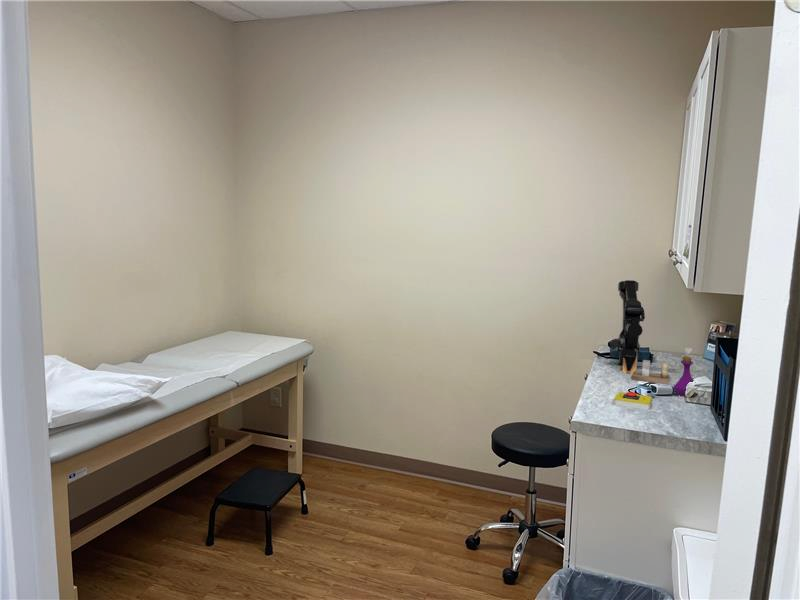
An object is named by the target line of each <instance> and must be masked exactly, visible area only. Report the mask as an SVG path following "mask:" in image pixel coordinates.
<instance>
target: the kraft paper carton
mask: <svg viewBox="0 0 800 600" xmlns="http://www.w3.org/2000/svg"><path fill="white" fill-rule="evenodd" d="M637 366H638V356H637V357H636V359H635V361H634V364H633V366H632V368H631V370H630V371H627V366H626V361H625V358H624V357H623V365H622V373H623V374H624V373H625V374H630V373H631V375H632V374H633V372H634V371H637V369H638V368H637Z"/></svg>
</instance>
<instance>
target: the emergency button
mask: <svg viewBox="0 0 800 600" xmlns="http://www.w3.org/2000/svg"><path fill="white" fill-rule="evenodd" d="M610 404H611V405H610ZM654 404H655V405H656V404H657V403H653V397H652V396H650V395H643V394H638V393H637V392H632V391H629V392H621V391H618V392H617V394H616V395H615V396H614V398H613V399H612V400H611V401H610V402H609V405H610V406H614V405H616V406H615V407H620V406H622V408H627V407H628V408H629V409H634V408H636V409H635V410H640V409H643V410H642V411H647V410H648V412H657V410H658V407H659V406H658V405H659V404H657V405H656V406H655V405H654ZM653 405H654V406H653Z"/></svg>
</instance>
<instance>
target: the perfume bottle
mask: <svg viewBox="0 0 800 600" xmlns="http://www.w3.org/2000/svg"><path fill="white" fill-rule="evenodd" d="M693 350H694V348H692V347H684V352H685V353H686V354H687V355H686V356H685V355H683V356H682V360H681V361H680V364H682V365H683V373H682V375H681V377H680V378H679V380H678V381H677V382H676V383H675V384H674V385H673V387H672V388H673V390H674V392H675V393H676V394H677V396H678V395H680V396H679V397H682V396H685V391H686V386H687V384H688V383H689V382H693V381H695V379H694V378H693V377H692V375H691V370H690V368H691V366H692V365H693V364H694V361H692V359H693V358H692V357H690V356H688V355H689V354H690V353H691V352H693Z"/></svg>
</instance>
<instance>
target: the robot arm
mask: <svg viewBox="0 0 800 600" xmlns="http://www.w3.org/2000/svg"><path fill="white" fill-rule="evenodd" d="M617 291H618V292H619V294H618V295H619V297H620V298H621V300H622V330H621V332H620V333H619V335H618V337H617V338H614V339H611V340H610V341H609V343H610V345H609V346H610V347H611V349H612V350H614V349H615V350H616V352H619V356H618V358H619V359H618V362H617V364H616V365H618V366H623V357H624V358H625V361H626V366H627V371H630V370H631V368H632V366H633V364H634V361H635V359H636V357H637V358H638V355H639V352H640V351H641V344H640V342H639V338H640V336H641V335H642V334H643V326H641V324H640V322H644V320H645V317H646V315H645V309H644V307H643V306H642V302H641V301H639V300H638V295H637V292H639V282H638V281H637V280H631V279H626V280H621V281H620V282H618V284H617Z"/></svg>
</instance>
